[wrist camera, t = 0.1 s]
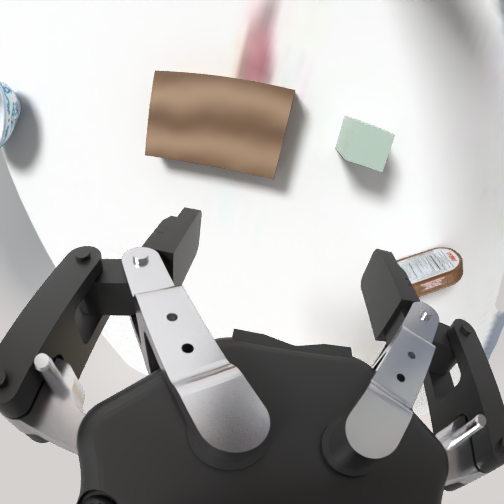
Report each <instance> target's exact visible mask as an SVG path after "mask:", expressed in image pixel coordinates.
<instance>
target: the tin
mask: <svg viewBox="0 0 504 504" xmlns="http://www.w3.org/2000/svg"><path fill="white" fill-rule="evenodd" d="M397 263H398V264H399V265H400V267H401V268H402V269H403V270H404V271H405V272H406V274H407V276H408V278H409V280H410V282H411V284H412V286H413V288H414V290H415V292H416V294H417V296H418V297H420V296H423V295H426V294H428V293H431V292H434V291H437V290H440V289H443V288H446V287H449V286H451V285H454V284H455V283H457V282H458V281H459V280H460V279H461V277H462V275H463V262H462V258H461V256H460V255H459V254H458V253H457V252H456V251H455V250H453V249H450V248H442V247H441V248H434V249H431V250H428V251H425V252H422V253H419V254H416V255H412V256H409V257H406V258H403V259H400V260H397Z"/></svg>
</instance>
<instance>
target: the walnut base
mask: <svg viewBox="0 0 504 504" xmlns="http://www.w3.org/2000/svg"><path fill="white" fill-rule="evenodd" d="M294 93H295V90H292V89H288V88H283V87H279V86H274V85H269V84H264V83H259V82H254V81H248V80H242V79H236V78H229V77H222V76H215V75H206V74H196V73H185V72H170V71H155V74H154V80H153V87H152V94H151V101H150V109H149V118H148V127H147V138H146V150H145V155H147V156H154V157H161V158H168V159H174V160H180V161H186V162H192V163H197V164H203V165H208V166H214V167H219V168H224V169H229V170H234V171H239V172H244V173H248V174H253V175H258V176H262V177H266V178H271V179H274V176H275V172H276V168H277V164H278V160H279V155H280V151H281V147H282V143H283V139H284V135H285V131H286V127H287V122H288V118H289V114H290V110H291V106H292V102H293V97H294Z"/></svg>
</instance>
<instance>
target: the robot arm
mask: <svg viewBox="0 0 504 504" xmlns="http://www.w3.org/2000/svg"><path fill="white" fill-rule="evenodd" d="M201 215H202V213H201V210H196V209H190V208H184V209H183V210H182V211H181V213H180V214H179V215H178V217H174V216H170V217H168V218H166V219H164V220H163V221H162V222H161V223H160V224H159V226H158V228H156V229H155V231H154V233H152V234H151V236H150V237H149V238H148V239H147V241H146V242H145V243H144V245H143V246H142V247H137V248H133V249H130V250H128V251H127V252H125V253H124V255H123V256H122V259H102V258H101V252H100V251H99V250H98V249H97V248H95V247H91V246H83V247H79V248H76V249H74V250H72V251H71V252H70V253H69V254H68V255H67V256H66V257H65V258H64V259H63V260H62V262H61V263H60V264H59V265H58V266H57V267H56V269H55V270H54V271H53V272H52V274H51V275H50V276H49V277H48V278H47V280H46V281H45V282H44V283H43V285H42V286H41V287H40V288H39V290H38V291H37V292H36V293H35V295H34V296H33V297H32V299H31V300H30V301H29V303H28V304H27V306H26V307H25V308H24V309H23V311H22V312H21V314H20V315H19V316H18V318H17V319H16V321H15V322H14V324H13V325H12V327H11V328H10V329H9V331H8V332H7V334H6V336H5V337H4V339H3V340H2V342H1V343H0V413H1V414H2V415H3V416H4V417H5V418H6V419H7V420H8V421H9V422H11V423H12V424H13V425H14V426H15V427H16V428H18V429H19V430H20V431H21V432H23V433H25V434H26V435H27V436H29V437H30V438H31V439H32V440H34V441H36V442H39V443H45V442H51V443H53V444H56V445H58V446H59V447H62V448H64V449H66V450H68V451H70V452H73V453H75V454H77V455H78V456H79V461H80V468H81V489H80V495H79V498H78V501H77V504H441V500H442V495H443V491H444V490H446V491H453V490H456V489H458V488H460V487H462V486H464V485H466V484H468V483H470V482H472V481H474V480H476V479H478V478H480V477H482V476H484V475H486V474H488V473H489V472H491V471H493V470H495V469H496V468H498V467H500V466H501V465H503V464H504V405H503V402H502V398H501V395H500V392H499V390H498V386H497V384H496V381H495V378H494V375H493V373H492V370H491V368H490V365H489V362H488V360H487V357H486V355H485V353H484V350H483V348H482V346H481V343H480V341H479V339H478V337H477V335H476V332H475V330H474V329H473V327H472V326H471V325H470V324H469V323H467V322H466V321H464V320H462V319H456V320H455V321H454V322H453V323H452V325H451V326H447V325H445V324H443V323H440V322H439V317H438V314H437V313H436V311H435V310H434V309H433V308H432V307H431V306H429V305H428V304H426V303H423V302H420V300H419V298H418V296H417V294H416V292H415V290H414V288H413V286H412V284H411V282H410V280H409V278H408V276H407V274H406V272H405V271H404V270H403V269H402V268H401V267H400V265H399V264H398V263H397V261H396V260H395V258H394V256H393V254H392V253H391V252H388V251H384V250H380V249H376V250H375V251H374V252H373V254H372V257H371V259H370V261H369V263H368V266H367V268H366V270H365V272H364V274H363V277H362V280H361V290H362V293H363V296H364V300H365V303H366V307H367V310H368V314H369V318H370V321H371V325H372V329H373V333H374V336H375V340H377V341H386V345H385V346H384V347H383V349H382V350H381V352H380V353H379V355H378V357H377V358H376V360H375V361H374V363H373V364H372V366H369V365H368V364H366V363H365V362H363V361H361V360H359V359H357V358H355V357H352V352H351V347H343V346H335V345H327V344H319V345H305V346H294V345H291V344H288V343H285V342H283V341H280V340H277V339H275V338H272V337H269V336H267V335H264V334H259V333H254V332H248V331H243V330H238V329H234V332H233V336H232V337H228V338H218V339H214V338H213V337H212V335H211V333H210V332H209V330H208V328H207V327H206V325H205V323H204V322H203V320H202V318H201V316H200V315H199V313H198V311H197V310H196V308H195V306H194V304H193V303H192V301H191V299H190V297H189V296H188V294H187V292H186V290H185V289H184V287H183V286H182V283H183V281H184V279H185V277H186V274H187V272H188V270H189V268H190V266H191V264H192V262H193V260H194V258H195V255H196V253H197V250H198V245H199V236H200V226H201ZM110 315H128V316H130V320H131V323H132V326H133V329H134V331H135V334H136V337H137V340H138V343H139V346H140V348H141V351H142V354H143V357H144V361H145V364H146V368H147V371H148V373H149V375H148V376H146V377H145V378H143V379H141V380H139V381H138V382H136V383H134V384H132V385H131V386H129V387H127V388H125V389H124V390H122V391H120V392H118V393H116V394H115V395H113V396H111V397H109V398H107V399H106V400H104V401H102V402H100V403H99V404H97V405H95V406H94V407H93V408H92V409H91V410H89V411H88V413H87V414H85V413H83V403H84V397H85V394H84V390H83V388H82V386H81V384H80V382H79V378H80V375H81V373H82V371H83V369H84V367H85V364H86V362H87V360H88V358H89V356H90V354H91V352H92V350H93V348H94V345H95V343H96V341H97V339H98V337H99V335H100V333H101V331H102V330H103V328H104V326H105V324H106V322H107V320H108V318H109V316H110ZM456 363H458V366H459V369H460V372H461V378H460V381H459V383H458V384H457V385H456V386H455V387H454V385H453V381H452V378H451V375H450V369H451V368H452V367H453V366H454V365H455V364H456ZM423 383H424V387H425V391H426V396H427V401H428V406H429V411H430V416H431V421H432V427H433V433H432V432H431V431H430V430H429V429H428V428H427V426H426V425H425V424H424V423H423V422H422V421H421V420H420V419H419V418H418V416H417V415H416V414H415V413H414V412H413V410H412V407H413V405H414V403H415V400H416V398H417V396H418V393H419V391H420V389H421V386H422V384H423Z"/></svg>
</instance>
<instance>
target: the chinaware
mask: <svg viewBox="0 0 504 504" xmlns="http://www.w3.org/2000/svg"><path fill="white" fill-rule="evenodd" d="M20 110H21V106H20V101H19V98H18V97H17V96H16V95H15V93H14V92H13V90H12V89H11V88H10V87H9V86H8V85H7V84H5V83H3V82H0V148H1V147H2V146H3V145H4V144H5V142H6V141H7V140H8V139H9V137H10V135H11V134H12V132H13V130H14V127H15V125H16V122H17V121H18V119H19V116H20Z"/></svg>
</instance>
